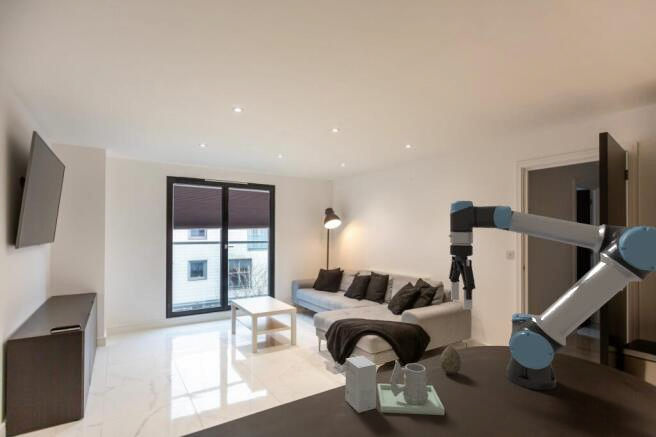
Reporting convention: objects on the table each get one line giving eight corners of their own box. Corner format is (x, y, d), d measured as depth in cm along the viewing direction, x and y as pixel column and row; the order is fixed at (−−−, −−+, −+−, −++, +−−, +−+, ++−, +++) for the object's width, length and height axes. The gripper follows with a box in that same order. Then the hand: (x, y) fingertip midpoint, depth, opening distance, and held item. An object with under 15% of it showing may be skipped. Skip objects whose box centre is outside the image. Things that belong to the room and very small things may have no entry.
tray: (432, 391, 112) (432, 385, 112) (444, 415, 98) (444, 408, 98) (377, 389, 113) (377, 383, 113) (381, 412, 99) (381, 406, 99)
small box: (376, 408, 101) (377, 364, 101) (358, 413, 98) (358, 368, 98) (362, 395, 108) (362, 354, 108) (344, 400, 106) (345, 358, 106)
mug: (432, 405, 102) (432, 365, 102) (393, 406, 101) (393, 366, 101) (423, 393, 109) (423, 355, 110) (386, 393, 108) (387, 356, 109)
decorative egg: (439, 375, 123) (439, 348, 123) (441, 368, 130) (441, 342, 130) (460, 379, 121) (460, 351, 121) (461, 371, 127) (461, 344, 127)
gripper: (440, 242, 134) (440, 296, 133) (462, 246, 109) (462, 313, 108) (460, 242, 133) (460, 296, 133) (486, 246, 108) (486, 313, 108)
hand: (460, 304), depth 121 cm, fingers open, 13 cm apart
